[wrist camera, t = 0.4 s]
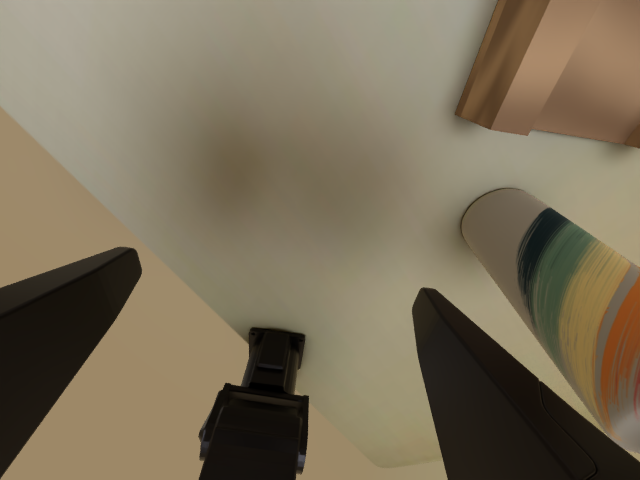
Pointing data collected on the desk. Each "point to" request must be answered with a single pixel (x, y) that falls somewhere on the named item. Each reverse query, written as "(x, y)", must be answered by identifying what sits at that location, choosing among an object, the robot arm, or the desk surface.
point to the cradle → (559, 70)
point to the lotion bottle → (567, 301)
